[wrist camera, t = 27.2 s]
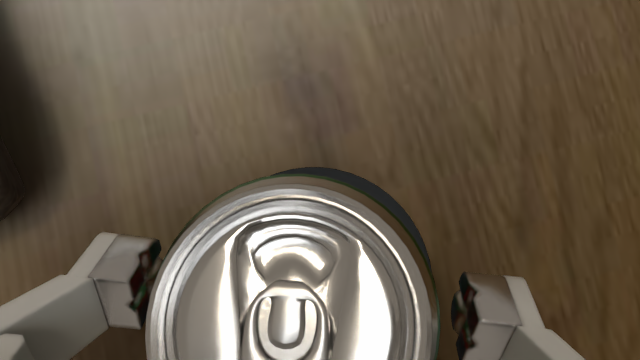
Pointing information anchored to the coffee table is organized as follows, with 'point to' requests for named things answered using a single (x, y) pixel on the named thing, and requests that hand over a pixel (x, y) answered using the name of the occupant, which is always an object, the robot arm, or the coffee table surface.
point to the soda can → (294, 279)
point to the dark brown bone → (8, 183)
